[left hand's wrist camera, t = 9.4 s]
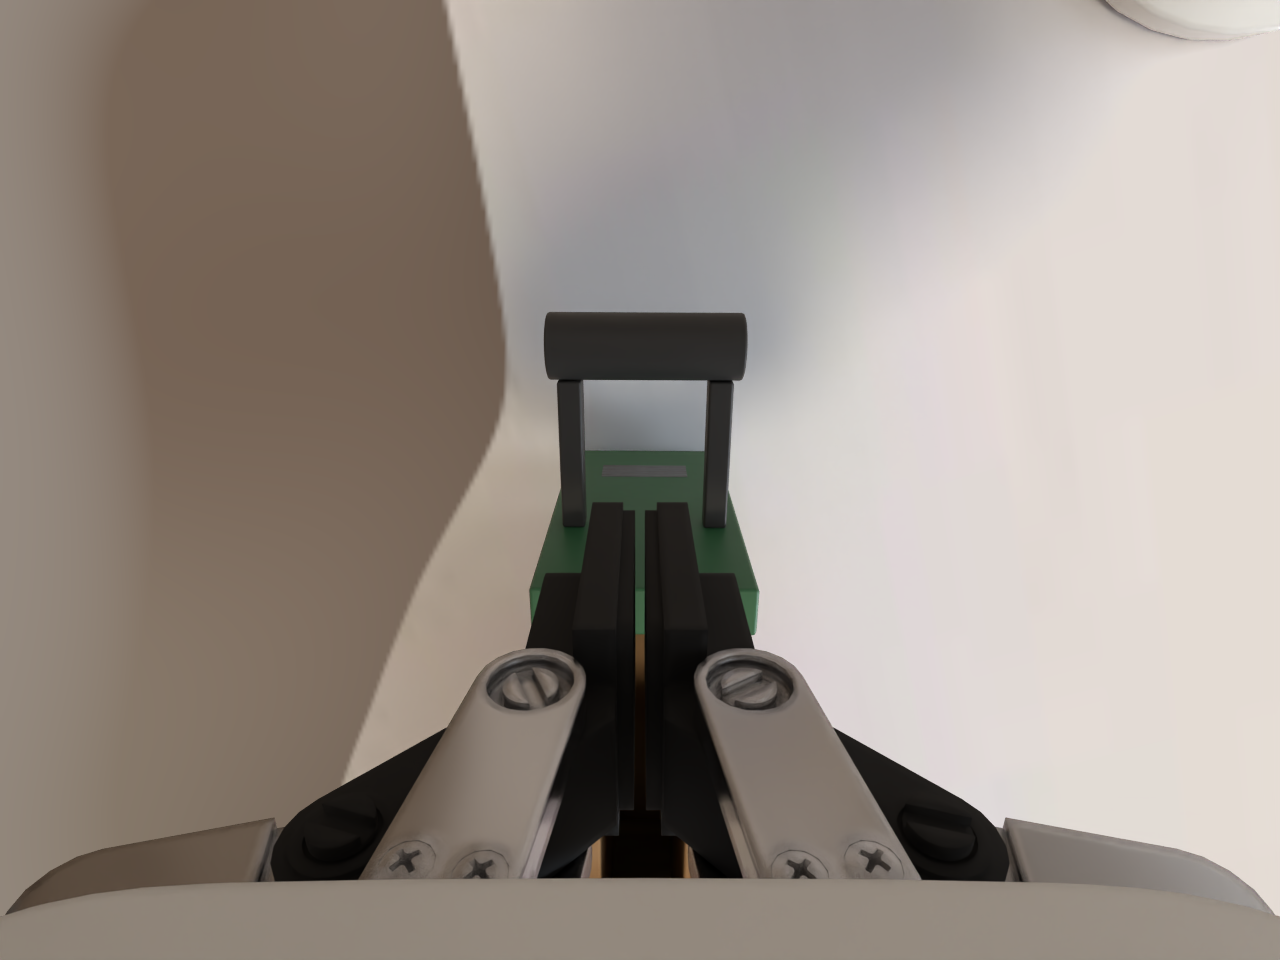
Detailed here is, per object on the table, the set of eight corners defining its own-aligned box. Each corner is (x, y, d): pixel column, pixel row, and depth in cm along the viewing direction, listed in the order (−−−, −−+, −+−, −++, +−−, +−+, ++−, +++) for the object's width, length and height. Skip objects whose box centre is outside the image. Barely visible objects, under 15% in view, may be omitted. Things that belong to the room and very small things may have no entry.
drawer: (566, 287, 22) (512, 335, 13) (724, 288, 22) (779, 337, 13) (583, 811, 30) (557, 1065, 21) (700, 812, 30) (724, 1067, 21)
